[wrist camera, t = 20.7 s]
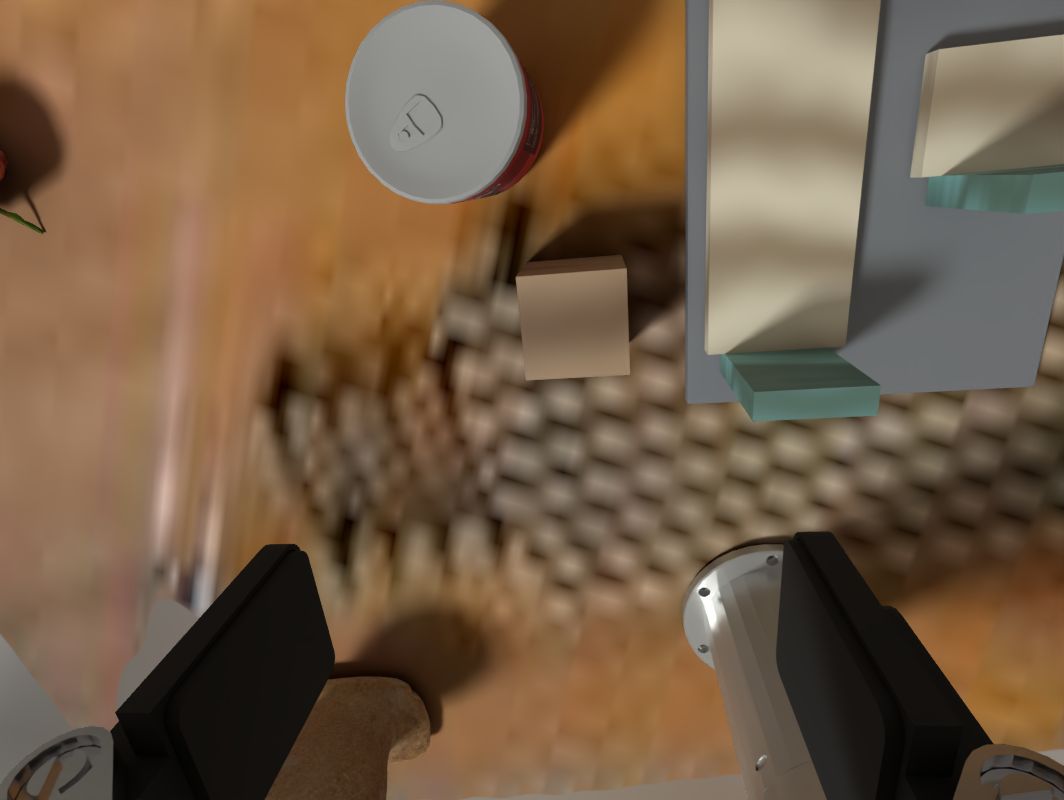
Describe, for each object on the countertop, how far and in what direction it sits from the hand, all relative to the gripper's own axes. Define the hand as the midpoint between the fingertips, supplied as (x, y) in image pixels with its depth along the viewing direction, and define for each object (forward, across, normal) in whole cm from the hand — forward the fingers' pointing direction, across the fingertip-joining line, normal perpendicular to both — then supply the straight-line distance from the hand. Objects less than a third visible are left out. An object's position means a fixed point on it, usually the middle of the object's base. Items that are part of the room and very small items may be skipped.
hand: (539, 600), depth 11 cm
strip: (+27, -12, -8) cm, 30 cm away
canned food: (+28, +5, -11) cm, 31 cm away
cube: (+28, 0, 0) cm, 28 cm away
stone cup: (+29, +23, +35) cm, 51 cm away
